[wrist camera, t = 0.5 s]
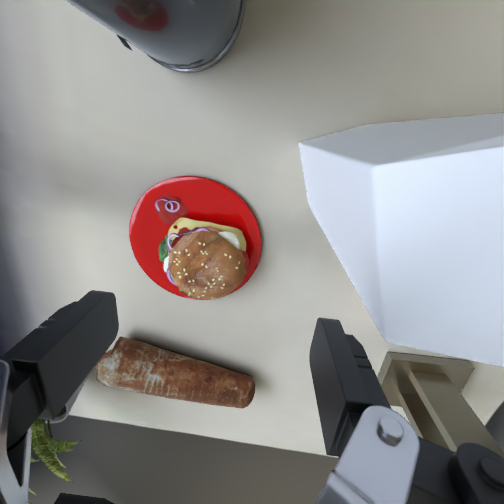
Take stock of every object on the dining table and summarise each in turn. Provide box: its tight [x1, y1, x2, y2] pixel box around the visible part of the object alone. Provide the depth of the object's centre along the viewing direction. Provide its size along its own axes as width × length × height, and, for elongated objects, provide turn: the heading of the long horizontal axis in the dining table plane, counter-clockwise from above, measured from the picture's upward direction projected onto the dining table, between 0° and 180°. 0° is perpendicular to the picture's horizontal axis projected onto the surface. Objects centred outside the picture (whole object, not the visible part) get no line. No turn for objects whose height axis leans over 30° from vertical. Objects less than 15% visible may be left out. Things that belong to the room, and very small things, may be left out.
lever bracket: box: [377, 352, 504, 458], centre depth 29 cm, size 10×8×13 cm
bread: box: [96, 337, 255, 408], centre depth 33 cm, size 6×19×6 cm, turn 70°
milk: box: [298, 113, 504, 367], centre depth 15 cm, size 6×6×22 cm
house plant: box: [28, 374, 89, 504], centre depth 30 cm, size 14×14×16 cm
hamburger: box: [129, 176, 261, 300], centre depth 26 cm, size 14×14×6 cm
